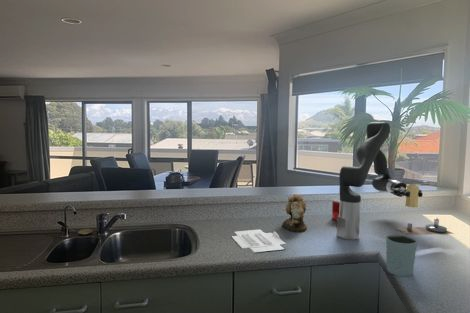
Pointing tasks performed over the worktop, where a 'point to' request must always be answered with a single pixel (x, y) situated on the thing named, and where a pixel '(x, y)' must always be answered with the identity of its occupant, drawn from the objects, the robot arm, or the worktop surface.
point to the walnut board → (417, 230)
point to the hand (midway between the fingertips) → (415, 194)
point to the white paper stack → (258, 240)
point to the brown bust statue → (295, 214)
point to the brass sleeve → (412, 196)
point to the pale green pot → (400, 254)
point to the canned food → (335, 209)
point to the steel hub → (436, 227)
